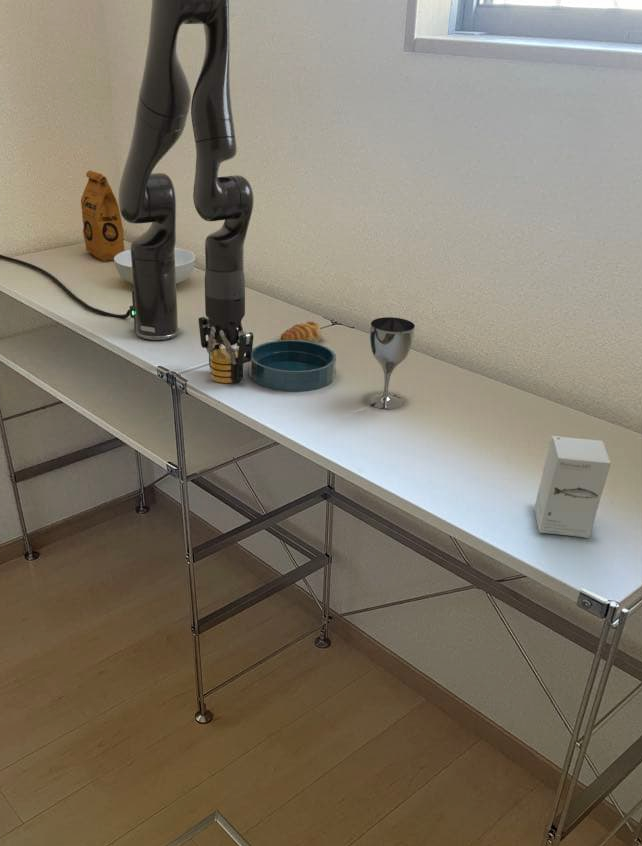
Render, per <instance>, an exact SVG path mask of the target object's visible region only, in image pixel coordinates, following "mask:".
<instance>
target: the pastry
mask: <svg viewBox="0 0 642 846" xmlns="http://www.w3.org/2000/svg"><path fill="white" fill-rule="evenodd" d="M323 337H324V334H323V333H322V330H321V328H320V325H319V324H318V323H317V322H315V321H307V322H306V323H303V322H302V323H298V324H297V323H296V324H294V325H293V326H291V327H290V328H289V329H287V330H284V332H283V333H282V334H281V335H280V340H300V341H308V342H313V343H317V342H320V341H322V340H323Z"/></svg>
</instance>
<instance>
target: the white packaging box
mask: <svg viewBox="0 0 642 846" xmlns="http://www.w3.org/2000/svg"><path fill="white" fill-rule="evenodd" d="M548 444H549V445H548V447H547V448H548V449H547V454H546V457H545V460H544V464H543V469H542V475H541V477H540V482H539V487H538V491H537V495H536V499H535V503H534V507H533V509H534V515H535V519H536V524H537V530H538V533H539V534H550V535H562V536H569V537H578V538H584V539H589V538H590V536H591V534H592V531H593V526H594V523H595V519H596V516H597V512H598V509H599V505H600V502H601V498H602V495H603V491H604V488H605V484H606V481H607V478H608V474H609V471H610V468H611V464H612V462H611V460H610V457H609V454H608V451H607V448H606V445H605V443H604V440H599V439H590V438H589V439H587V438H578V437H566V436H558V435H551V436H550V440H549V443H548Z"/></svg>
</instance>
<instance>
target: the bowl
mask: <svg viewBox="0 0 642 846" xmlns="http://www.w3.org/2000/svg"><path fill="white" fill-rule="evenodd" d="M336 364H337V355H336V353H335V352H334V350H332V349H331V348H329V347H328V346H326V345H323V344H320V343H317V342H308V341H300V340H281V339H280V340H279V339H278V340H273V341H267V342H263V343H261V344H258V345H256V346H253V347H252V357H251V361H250V362H248V376H249V378H250V379H251V380H252V382H254V383H255V384H257V385H260V386H261V387H263V388H267V389H270V390H275V391H281V392H292V393H293V392H295V393H297V392H298V393H299V392H309V391H310V392H311V391H315V390H319V389H322V388H325V387H327V386H329V385H330V384H332V383H333V381H334V380H335V379H336Z"/></svg>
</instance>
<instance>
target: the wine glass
mask: <svg viewBox="0 0 642 846" xmlns="http://www.w3.org/2000/svg"><path fill="white" fill-rule="evenodd" d="M415 327H416V325H415V323H413V322H412V321H410V320H408V319H404V318H400V317H389V316H387V317H379V318H375V319H373V320H372V321H371V322H370V329H369V344H370V345H369V346H370V350H371V354H372V357H374V359H375V360H376V361H377V363H378V364H379V365H380V367H381V369H382V371H383V377H384V378H383V380H384V381H383V382H384V383H383V385H384V386H383V393H381V394H376V395H374V396H373V397H372V399H373V401H374V403H372V404H370V406H372V407H374V408H376V409H380V410H381V409H383V410H391V409H392V410H394V409H398V408H401V407H403V405H404V399H403V398H401V397H400V396H398V395H395V394H394V395H391V394H389V386H390V381H391V376H392V374H393V372H394V370H395V369H396V368H397V367H399V365H401V363H403V362H404V361H405V360H406V359H407V357H408V355H409V354H410V351H411V348H412V346H413V342H414V337H415V329H416V328H415Z"/></svg>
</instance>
